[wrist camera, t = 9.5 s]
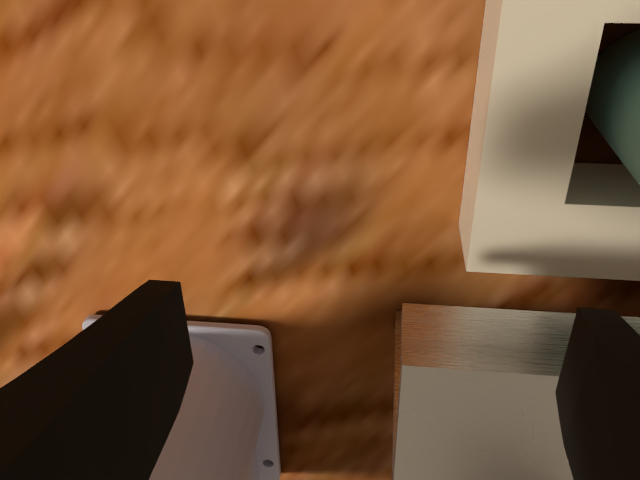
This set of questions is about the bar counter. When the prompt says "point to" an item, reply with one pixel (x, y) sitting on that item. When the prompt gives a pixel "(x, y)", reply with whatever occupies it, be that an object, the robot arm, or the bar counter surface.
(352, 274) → the bar counter surface
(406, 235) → the bar counter surface
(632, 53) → the peg
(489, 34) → the socket block
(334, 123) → the bar counter surface
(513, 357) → the grey angle bracket
